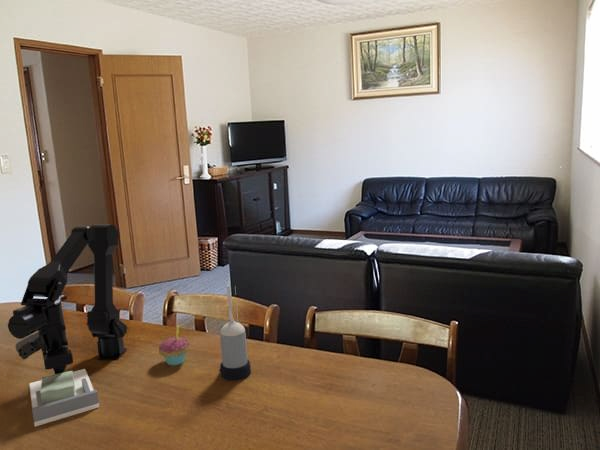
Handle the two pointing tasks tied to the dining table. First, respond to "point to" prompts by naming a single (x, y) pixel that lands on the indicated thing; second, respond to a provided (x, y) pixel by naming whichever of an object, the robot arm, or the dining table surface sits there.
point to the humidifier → (233, 348)
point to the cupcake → (174, 349)
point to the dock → (64, 400)
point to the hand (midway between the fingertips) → (59, 378)
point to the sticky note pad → (57, 387)
